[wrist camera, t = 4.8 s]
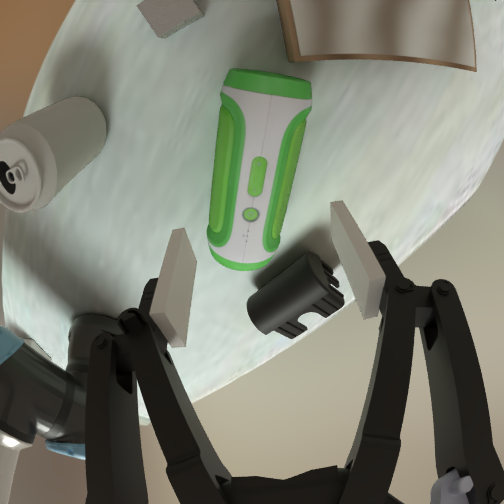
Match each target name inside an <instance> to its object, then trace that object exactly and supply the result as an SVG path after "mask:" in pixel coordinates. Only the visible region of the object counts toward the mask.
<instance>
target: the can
mask: <svg viewBox="0 0 504 504" xmlns="http://www.w3.org/2000/svg"><path fill="white" fill-rule="evenodd" d="M106 134H107V130H106V121H105V119H104V116H103V114H102V111H101V110H100V109H99V108H98V106H97V105H96V104H95V103H94V102H92V101H91V100H89V99H87V98H84V97H79V96H76V97H70V98H67V99H64V100H62V101H59V102H57V103H54V104H52V105H50V106H47V107H45V108H43V109H41V110H38V111H36V112H34V113H32V114H30V115H28V116H26V117H24V118H22V119H20V120H18V121H16V122H14V123H12V124H10V125H9V126H7V127H6V128H5V129H4V130H3V131H1V132H0V203H1V204H2V205H3V206H4V207H6V208H7V209H8V210H11V211H13V212H16V213H26V212H28V211H30V210H38V209H40V208H42V207H44V206H46V205H47V204H48V203H49V202H50V201H51V200H52V199H53V198H54V197H55V195H56V194H57V193H58V192H59V191H60V190H61V189H62V188H63V187H64V186H65V185H66V184H67V183H68V182H69V181H70V180H71V179H73V178H74V177H75V176H76V175H77V174H78V173H79V172H80V171H81V170H82V169H83V168H84V167H85V166H86V165H87V164H89V163H90V162H91V161H92V160H93V159H94V158H95V157H96V156H97V155H98V154H99V153H100V152H101V150H102V148H103V146H104V144H105V139H106Z"/></svg>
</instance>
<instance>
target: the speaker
mask: <svg viewBox="0 0 504 504" xmlns="http://www.w3.org/2000/svg"><path fill="white" fill-rule="evenodd" d="M220 96H221V100H222V106H221V108H220V114H219V123H218V132H217V140H216V149H215V160H214V171H213V180H212V191H211V201H210V212H209V225H208V227H207V239H208V244H209V248H210V251H211V254H212V256H213V257H214V258H215V260H216V261H218V262H219V263H220V264H222V265H223V266H225V267H227V268H230V269H234V270H239V271H251V270H256V269H259V268H261V267H263V266H265V265H266V264H267V263H268V262H269V261H270V260H271V258H272V257H273V255H274V254H275V252H276V250H277V248H278V246H279V243H280V232H281V229H282V225H283V221H284V217H285V213H286V209H287V204H288V200H289V196H290V191H291V187H292V183H293V179H294V174H295V170H296V166H297V162H298V157H299V153H300V149H301V144H302V140H303V135H304V131H305V126H306V117H307V115H308V114H309V112H310V111H311V108H312V92H311V83H310V82H309V81H306V80H303V79H299V78H295V77H291V76H286V75H281V74H276V73H270V72H263V71H256V70H247V69H230V70H229V72H228V74H227V76H226V79H225V81H224V84H223V86H222V90H221V93H220Z"/></svg>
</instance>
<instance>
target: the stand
mask: <svg viewBox="0 0 504 504" xmlns="http://www.w3.org/2000/svg"><path fill="white" fill-rule="evenodd" d="M276 1H277V5H278V10H279V15H280V20H281V25H282V30H283V35H284V40H285V46H286V51H287V57H288V61H289V62H302V61H316V60H338V59H373V60H394V61H407V62H418V63H426V64H434V65H441V66H447V67H453V68H459V69H464V70H469V71H474V72H477V68H476V50H475V38H474V29H473V21H472V15H471V8H470V3H469V0H276Z"/></svg>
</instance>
